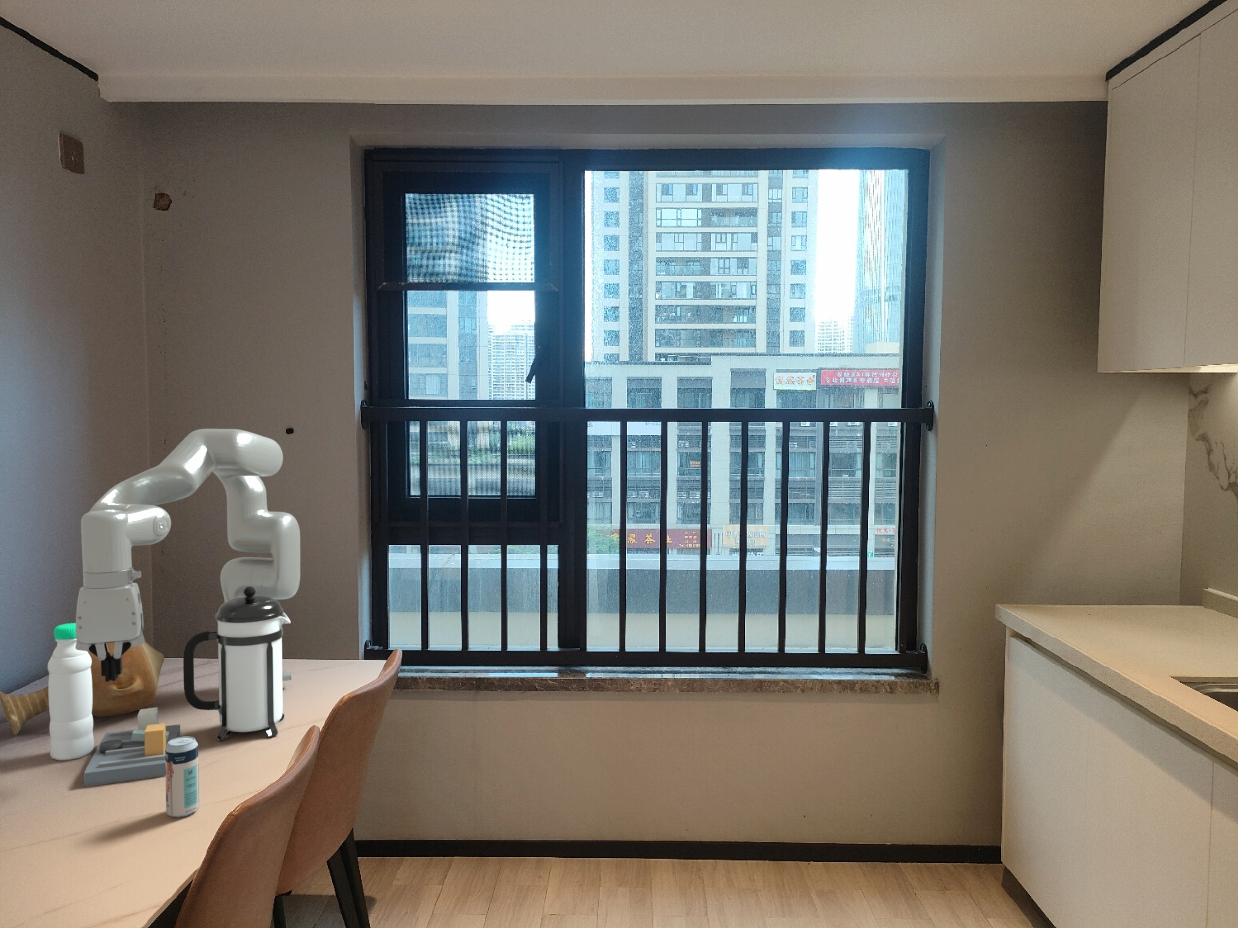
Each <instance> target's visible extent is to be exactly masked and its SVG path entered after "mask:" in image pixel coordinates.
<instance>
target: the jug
mask: <svg viewBox="0 0 1238 928" xmlns="http://www.w3.org/2000/svg"><path fill="white" fill-rule="evenodd" d="M125 642H126V641H125ZM107 647H108V651H109V653H110V655H111V656H112V655H113V653H114V647H115V642H112V643H107ZM87 652H88V654H89V655H90V657H91V660H92V664H91V667H90V668H91V675H92V716H93V717H111V716H112V717H113V716H120V715H124V714H130V713H132V712H135V711H138V710H139V711H140V709H146V708H147V707H148V706H150V705H153V703H154V702H155V701H156V698H157V693H158V686H159V680H160V676H161V670H162V667H163V665H164V661H165V656H164V655H163V653H162V652H160V651H158V650H156V648H154V647H152V646H151V645H150V644H149V643H147V642H146V640H145V641H144V643H143V644H141V645H138V646H135V647H131V648H129V649H128V650H127V651H126V652H125V653H124V654H123V655H122V656H121V659H122V673H121V674H119V675H118V678H117V679H116V681H112V680H110V681H108V682H105V676H102V675H101V660H99V659H98V657H97V656H96V655H94V654H93V653H91V652H90V651H87ZM0 703H1V712H2V713H3V715H4V716H5V719H6V721H7V723H8V725H9V727H10V729H11V730H12V733H13V735H14V736H17V735H18V734H19V732H20V730H21V729H22V727H23V726H24V725H25V724H26V723H27V722H28V721H29V720H30V719H32V718H34V717H35V716H38V715H39V714H41V713H43V712H45V711H49V695H48V686H45V687H44V688H42V689H40V690H36V691H33V692H29V693H25V694H24V693H22V694H18V695H16V694H15V695H13V694H7V693H4V692H3V691H2V690H1V691H0Z"/></svg>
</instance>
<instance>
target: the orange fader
mask: <svg viewBox="0 0 1238 928" xmlns="http://www.w3.org/2000/svg"><path fill="white" fill-rule="evenodd" d="M166 726H167V724H166V723H164V722H162V723H158V724H154V725H147V727H146V730H145V757H148V756H156V755H164V754H165V748H166Z"/></svg>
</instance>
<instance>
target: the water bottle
mask: <svg viewBox="0 0 1238 928" xmlns="http://www.w3.org/2000/svg"><path fill="white" fill-rule="evenodd" d="M53 637H54V639H55V640H54V641H55V642H56V643H57V644H56V646H55V649H54V650H53V652H52V655H51V657H50V659H49V661H48V663H47V671H48V673H49V674H48V685H47V687H48V695H49V710H48V712H49V717H50V721H49V735H50V742H49V755H50V758H52V760H53V759H54V760H57V761H70V760H75V759H79V758H83V757H85V756H88V755H89V754H90V753H92V752H93V750H94V748H95V740H94V739H95V738H94V733H93V730H94V718H93V717H94V716H92V675H91V668H90V667H91V664H92V660H91V657H90V655H89V654H88V652H87V651H81V650H76V648H75V647H76V643H77V639H76V622H73V623H72V622H70V623H64V624H59V625H57V626H55V628H54V630H53Z"/></svg>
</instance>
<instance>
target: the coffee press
mask: <svg viewBox="0 0 1238 928" xmlns="http://www.w3.org/2000/svg"><path fill="white" fill-rule="evenodd" d="M255 592H256V591H255V588H254V587H251V586H249V587H246V588H245V590H244V592H243V593H244V594H245V596H247V597H240V598H235V599H232V600H229V601H227V602H225V601H224V602H223V603H222V604H221V605H220V607H219V608H218V609H217V610H218V611H217V612H215V620H216V621H217V631H208V630H207V631H202V632H198V633H197V634H195V635H193V636H192V637H191V638H190V639H189V641H188V642H187V643H186V645H185V646H184V652H183V660H182V661H183V662H182V663H183V666H182V667H183V670H182V671H183V672H182V673H183V674H182V675H183V690H184V691H183V692H184V693H183V694H184V698H185V699H186V702H187V703H188V704H189V705H190V706H191V707H193V709H196V710H201V711H214V710H215V711H217V712H218V714H219V725H220V728H219V731H218V733H217V735H216V740H218V741H222V742H225V741H226V740H228V739H229V736H231V734H233V733H235V732H236V733H249V732H256V731H261V730H263V731H265V733H266V735H267V736H268V738H273V737H277V736H278V734H279V730H278V728H277V727H276V724H278V722H279V721H280V722H281V721H283V720H284V719H285V714H284V712H283V707H284V706H283V699H284V698H283V680H282V671H283V636H284V627H283V625H285V624H291V620H290V618H289V617H288V615H287V614H286V613H285V611H284V608H283V607H282V606H281V603H280V602H279V601H278V599H273V598H270V597H264V596H254V595H255ZM210 640H211V641H212V640H216V642H217V651H218V652H217V656H218V659H217V660H218V700H217V699H216V700H202V699H201V698H199V697H198V696H197V694H196V692H195V691H196V690H195V669H194V668H195V667H194V666H195V664H194V660H195V658H194V657H195V656H194V653H195V649H196V647H197V645H198V644H200V643H202V642H206V641H210ZM226 730H227V731H226ZM225 731H226V732H225Z"/></svg>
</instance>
